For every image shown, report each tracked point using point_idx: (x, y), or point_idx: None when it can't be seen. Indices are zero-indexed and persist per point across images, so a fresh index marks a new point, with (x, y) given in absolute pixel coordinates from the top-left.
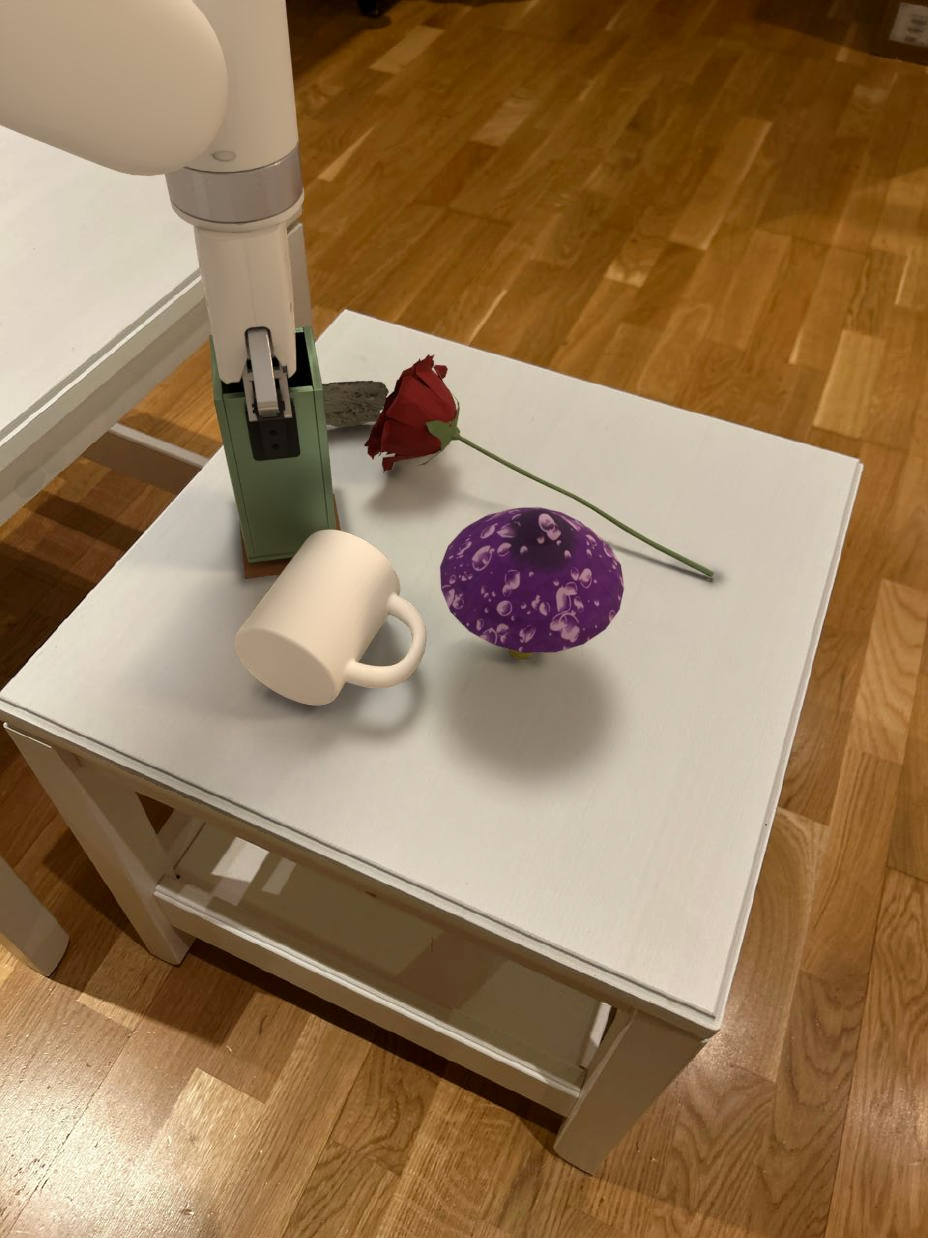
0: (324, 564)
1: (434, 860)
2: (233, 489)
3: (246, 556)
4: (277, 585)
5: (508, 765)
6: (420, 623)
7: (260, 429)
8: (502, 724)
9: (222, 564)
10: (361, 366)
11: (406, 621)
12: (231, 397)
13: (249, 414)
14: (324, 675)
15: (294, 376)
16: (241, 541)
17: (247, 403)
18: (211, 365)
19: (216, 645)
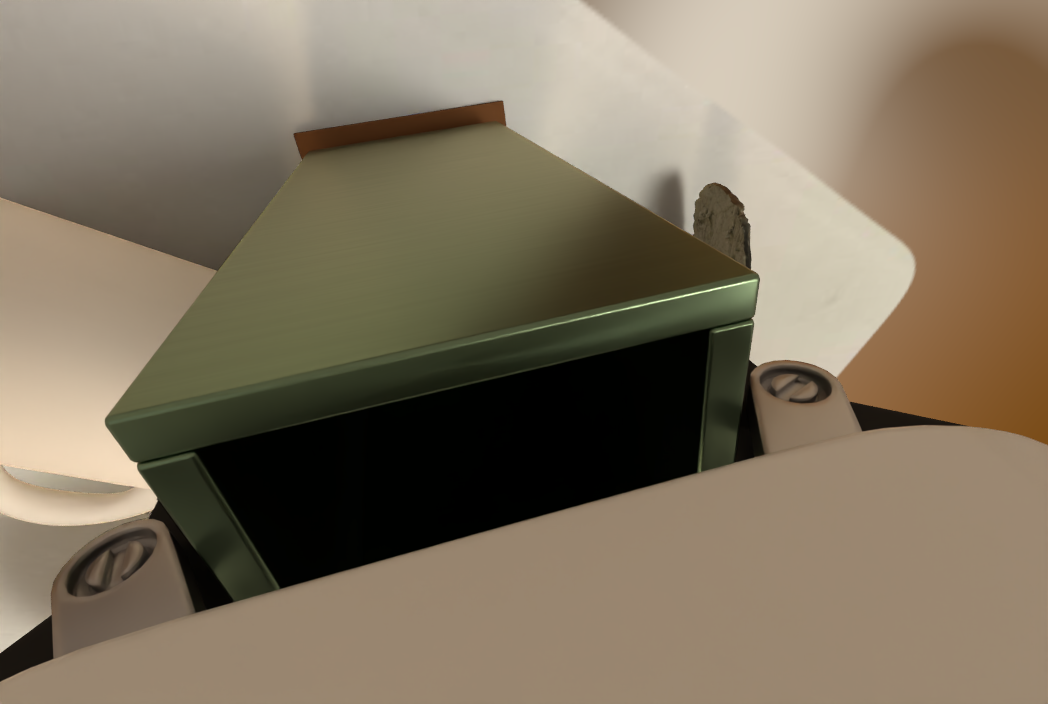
0: (95, 435)
1: None
2: (265, 208)
3: (354, 133)
4: (23, 321)
5: (3, 558)
6: (126, 517)
7: (149, 518)
8: (79, 544)
9: (330, 76)
10: (816, 298)
11: (132, 492)
12: (171, 498)
13: (55, 594)
14: None
15: (607, 435)
16: (395, 118)
17: (56, 637)
18: (473, 337)
19: (80, 83)
